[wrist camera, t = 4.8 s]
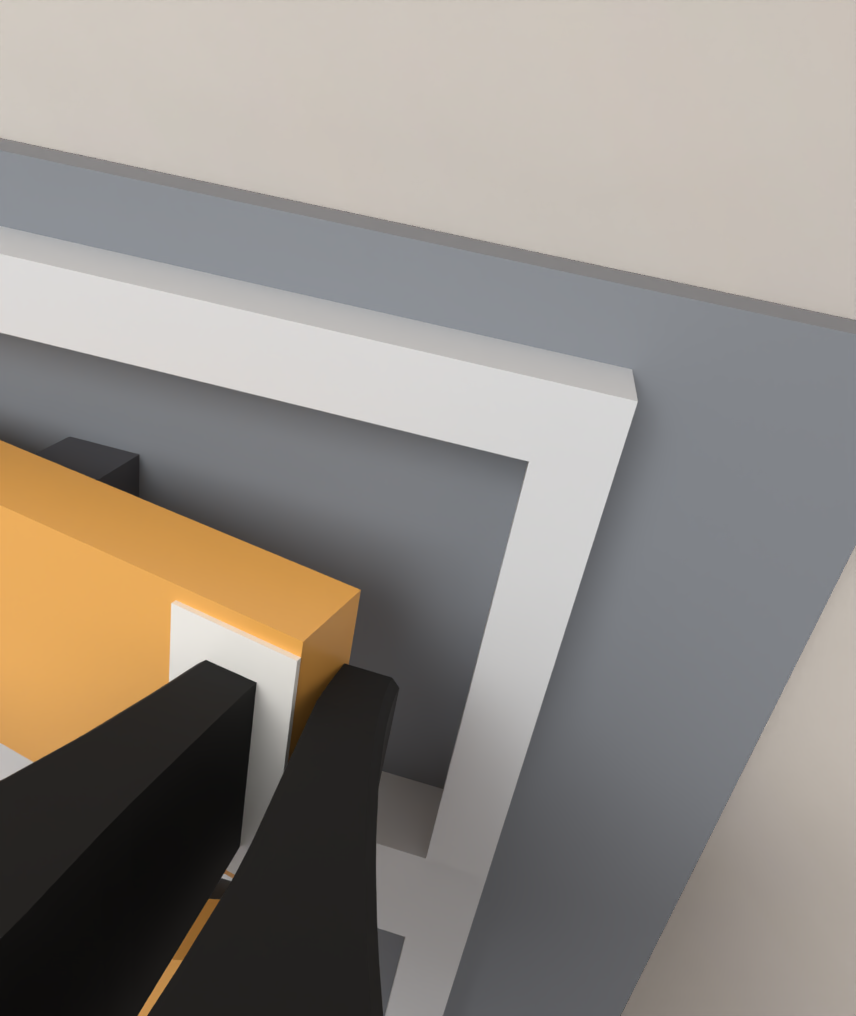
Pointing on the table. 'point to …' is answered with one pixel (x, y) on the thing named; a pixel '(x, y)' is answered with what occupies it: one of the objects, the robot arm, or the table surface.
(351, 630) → the rocker switch
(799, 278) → the table surface
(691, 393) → the switch panel
